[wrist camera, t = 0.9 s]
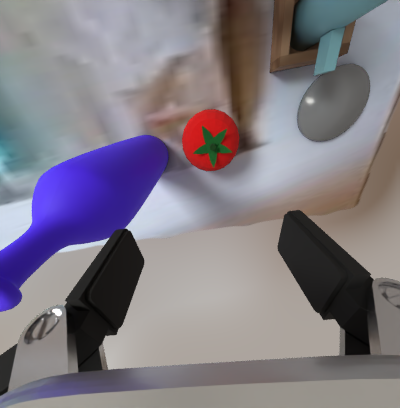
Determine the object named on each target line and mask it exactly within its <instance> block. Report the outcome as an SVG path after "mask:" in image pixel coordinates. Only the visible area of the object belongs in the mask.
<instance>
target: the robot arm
mask: <svg viewBox="0 0 400 408" xmlns="http://www.w3.org/2000/svg"><path fill="white" fill-rule="evenodd" d="M278 251H279V253H280V255H281V256H282V258H283V259H284V261H285V263H286V264H287V266H288V268H289V269H290V271H291V273H292V274H293V276H294V278H295V279H296V281H297V283H298V284H299V286H300V287H301V289H302V291H303V292H304V294H305V296H306V297H307V299H308V301H309V302H310V304H311V306H312V307H313V309H314V310H315V311H316V312H317V313H320V315H321V316H322V318H323V320H327V319H335V320H336V321H337V323H338V324H339V326H340V355H339V356H323V357H322V356H321V357H304V358H287V359H270V360H252V361H236V362H219V363H203V364H187V365H172V366H159V367H158V366H157V367H144V368H127V369H113V370H108V367H107V362H106V357H105V352H104V347H103V340H104V338H105V335H106V336H109V335H116V334H117V332H118V329H119V328H120V327H121V326H122V324H123V322H124V319H125V316H126V313H127V311H128V308H129V305H130V302H131V300H132V296H133V294H134V291H135V288H136V285H137V283H138V280H139V277H140V274H141V272H142V269H143V266H144V258H143V256H142V254H141V252H140V250H139V248H138V246H137V244H136V241H135V239H134V237H133V235H132V233H131V231H128V230H127V229H118V230H115V231H114V233H113V234H112V236H111V237H110V238H109V240H108V241H107V242H106V244H105V245H104V247H103V248H102V249H101V251H100V252H99V254H98V255H97V256H96V258H95V259H94V261H93V262H92V263H91V265H90V266H89V268H88V269H87V270H86V272H85V273H84V275H83V276H82V277H81V279H80V280H79V282H78V283H77V284H76V286H75V287H74V288H73V290H72V291H71V293H70V294H69V296H68V297H67V298H66V300H65V301H67V303H66V305H65V306H63V305H56V306H52V307H50V308H48V309H46V310H45V311H43V312H42V313H40V314H39V315H37V316H36V317H35V318H34V319H33V320H32V321H31V322H30V323H29V324H28V325H27V327H26V328H25V329H24V331H23V332H22V334H21V335H20V338H19V340H18V343H17V344H16V345H14V346H13V347H12V348H10V349H9V350H7V351H6V352H4V353H3V354H2V355H0V408H400V282H399V281H396V280H393V279H388V278H377V279H375V280H373V279H372V278H371V277H370V275H371V274H370V273H369V272H368V271H367V270H366V269H365V268H364V267H362V266H361V265H360V264H359V263H358V262H357V261H356V260H355V259H354V258H352V257H351V256H350V255H349V254H348V253H347V252H346V251H345V250H344V249H343V248H341V247H340V246H339V245H338V244H337V243H336V242H335V241H334V240H333V239H331V238H330V237H329V236H328V235H327V234H326V233H325V232H324V231H323V230H322V229H320V228H319V227H318V226H317V225H316V224H315V223H314V222H313V221H312V220H311V219H309V218H308V217H307V216H306V215H305V214H304V213H303V212H302V211H300V210H296V211H289V212H287V214H285V215H284V219H283V224H282V229H281V233H280V238H279V243H278Z"/></svg>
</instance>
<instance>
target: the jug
mask: <svg viewBox="0 0 400 408" xmlns="http://www.w3.org/2000/svg"><path fill="white" fill-rule="evenodd" d="M386 1H387V0H298V1H297V2H296V3H295V5H294V11H293V20H292V29H291V38H290V46H291V47H292V48H293V49H295V50H297V51H304V50H307V49H309V48H310V47H312V46H314V45H315V44H317V43H319V42H320V43H319V49H318V54H317V60H316V65H315V70H314V76H315V75H320V74H325V73H328V72H331V71H334V70H335V68H336V64H337V59H338V55H339V51H340V47H341V43H342V38H343V34H344V30H345V26H347V25H348V24H350V23H351V22H353V21H355V20H356V19H358V18H360V17H361V16H363V15H365V14H366V13H368V12H370V11H371V10H373V9H374V8H376V7H378V6H379V5H381V4H383V3H384V2H386ZM343 27H344V28H343Z"/></svg>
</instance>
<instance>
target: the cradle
mask: <svg viewBox="0 0 400 408" xmlns="http://www.w3.org/2000/svg"><path fill="white" fill-rule="evenodd" d="M297 1H298V0H275V2H274V18H273V33H272V48H271V63H270V73H271V72H276V71H281V70H286V69H291V68H296V67H301V66H306V65H311V64H316V60H317V54H318V49H319V43H320V42H319V43H317V44H315V45H314V46H312V47H310V48H309V49H307V50H304V51H297V50H295V49H293V48H292V47H291V46H290V38H291V29H292V20H293V11H294V5H295V3H296V2H297ZM355 22H356V20H355V21H353V22H351V23H350V24H348V25H347V26H345V30H344V34H343V38H342V43H341V47H340V51H339V55H338V57H340V56H342V55H344V54H347V53H348V49H349V45H350V41H351V37H352V33H353V30H354V26H355ZM343 28H344V27H343Z"/></svg>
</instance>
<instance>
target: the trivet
mask: <svg viewBox="0 0 400 408" xmlns="http://www.w3.org/2000/svg"><path fill="white" fill-rule="evenodd" d="M369 92H370V80H369V76H368V74H367V72H366V71H365V70H364V69H363V68H362V67H360V66H358V65H355V64H345V65H341V66H338V67H336V68H335V70H334V71H331V72H328V73H325V74H322V75H321V76H320V77H318V78H317V79H316V80H315V81H314V82H313V83H312V84H311V86H310V87H309V88H308V90H307V91H306V93H305V94H304V96H303V98H302V100H301V103H300V106H299V109H298V115H297V122H298V127H299V130H300V132H301V133H302V134H303V135H304V136H305V137H306V138H308V139H310V140H315V141H326V140H330V139H333V138H335V137H337V136H339V135H340V134H342V133H343V132H345V131H346V130H347V129H348V128H349V127H350V126H352V125H353V123H354V122H355V121H356V120H357V119H358V117H359V116H360V114H361V113H362V111H363V109H364V107H365V105H366V103H367V100H368V97H369Z"/></svg>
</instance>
